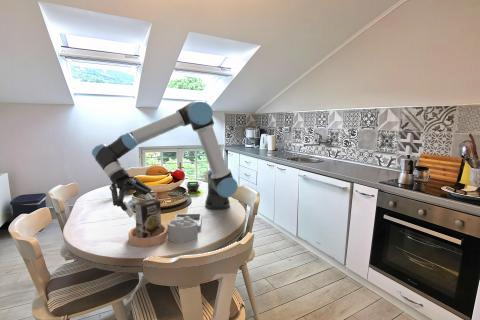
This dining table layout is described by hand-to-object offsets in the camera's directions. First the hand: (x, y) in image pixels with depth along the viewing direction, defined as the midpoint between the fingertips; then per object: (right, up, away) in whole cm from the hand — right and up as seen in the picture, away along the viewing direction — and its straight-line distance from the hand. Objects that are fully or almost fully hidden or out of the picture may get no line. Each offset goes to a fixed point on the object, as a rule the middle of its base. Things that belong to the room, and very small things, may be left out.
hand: (144, 210), depth 111 cm
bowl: (+1, -13, +2) cm, 13 cm away
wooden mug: (-36, -2, +66) cm, 75 cm away
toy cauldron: (+8, -2, +70) cm, 71 cm away
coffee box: (+2, -12, +2) cm, 13 cm away
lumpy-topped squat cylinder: (+17, -13, +3) cm, 22 cm away
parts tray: (+16, -11, +17) cm, 25 cm away
